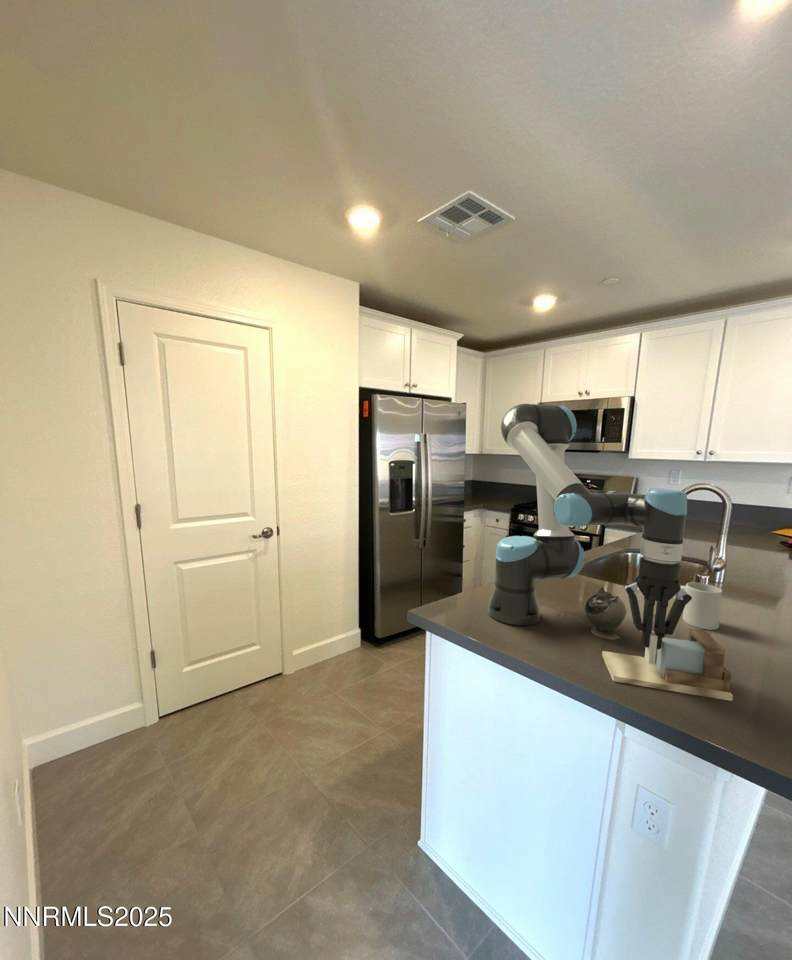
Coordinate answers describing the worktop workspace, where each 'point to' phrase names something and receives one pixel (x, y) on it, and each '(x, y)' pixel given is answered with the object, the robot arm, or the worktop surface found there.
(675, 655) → the pale blue tall block
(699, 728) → the worktop surface
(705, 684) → the rail board
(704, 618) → the mug
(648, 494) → the robot arm
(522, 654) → the worktop surface
